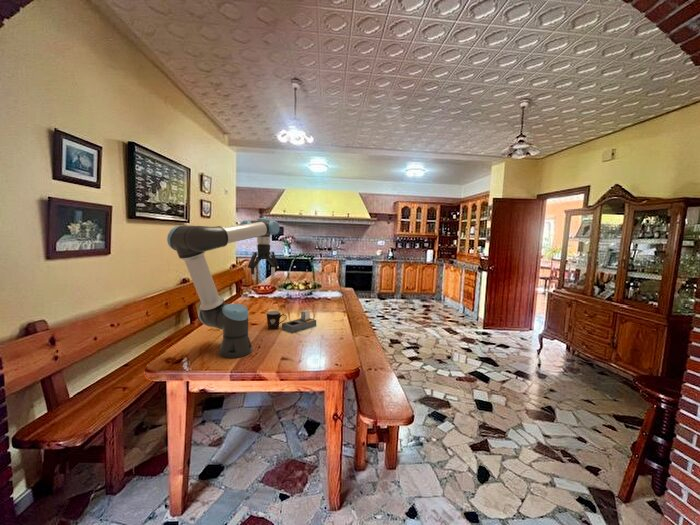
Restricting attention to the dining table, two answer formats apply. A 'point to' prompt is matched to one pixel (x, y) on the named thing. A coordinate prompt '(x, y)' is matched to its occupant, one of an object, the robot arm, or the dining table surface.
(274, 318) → the coffee mug
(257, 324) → the dining table surface
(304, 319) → the aluminium peg
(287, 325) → the grey cinder block
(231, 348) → the robot arm
